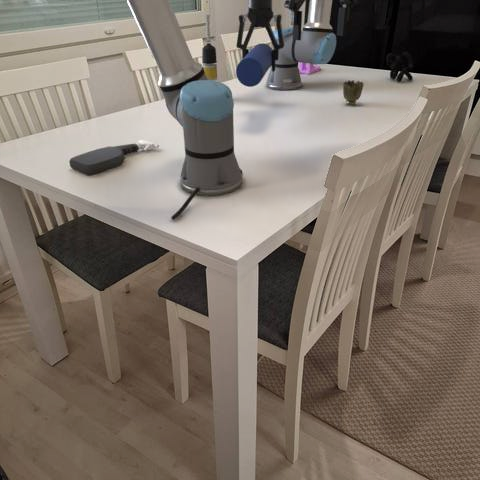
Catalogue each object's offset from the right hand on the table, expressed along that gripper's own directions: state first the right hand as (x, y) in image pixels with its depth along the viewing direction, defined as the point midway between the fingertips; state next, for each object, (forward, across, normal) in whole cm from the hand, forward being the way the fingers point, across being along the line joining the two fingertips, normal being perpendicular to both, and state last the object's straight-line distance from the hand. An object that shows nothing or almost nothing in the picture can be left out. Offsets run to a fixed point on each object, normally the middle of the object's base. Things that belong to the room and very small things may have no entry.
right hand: (260, 70), depth 151 cm
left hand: (-15, -20, +30) cm, 39 cm away
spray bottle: (+14, +33, +49) cm, 60 cm away
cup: (+16, -32, -17) cm, 39 cm away
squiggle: (+17, -54, -61) cm, 83 cm away
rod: (0, 0, +8) cm, 8 cm away
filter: (+15, +23, -18) cm, 33 cm away
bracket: (+17, -13, -75) cm, 78 cm away
